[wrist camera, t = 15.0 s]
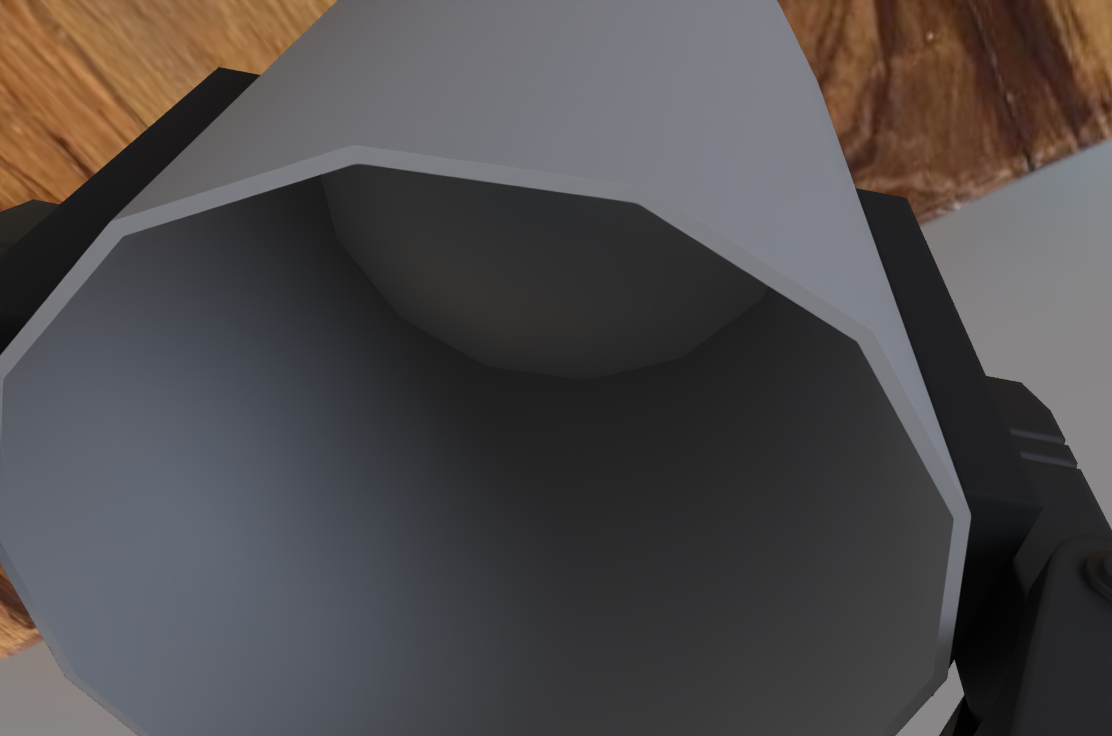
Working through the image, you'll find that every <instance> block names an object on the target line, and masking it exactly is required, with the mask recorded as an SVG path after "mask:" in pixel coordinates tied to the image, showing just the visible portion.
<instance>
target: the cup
mask: <svg viewBox="0 0 1112 736" xmlns="http://www.w3.org/2000/svg"><path fill="white" fill-rule="evenodd" d="M970 521H971V513H970V511H969V508H968V505H967V502H966V499H965V497H964V494H963V491H962V488H961V485H960V482H959V480H958V477H957V474H956V471H955V468H954V466H953V463H952V460H951V457H950V454H949V451H948V449H947V446H946V443H945V440H944V437H943V434H942V432H941V429H940V426H939V423H938V420H937V418H936V415H935V412H934V409H933V406H932V403H931V401H930V398H929V395H928V392H927V389H926V387H925V384H924V381H923V378H922V375H921V372H920V370H919V367H918V364H917V361H916V358H915V356H914V353H913V350H912V347H911V344H910V341H909V339H908V336H907V333H906V330H905V327H904V324H903V322H902V319H901V316H900V313H899V310H898V308H897V305H896V302H895V299H894V296H893V293H892V291H891V288H890V285H889V282H888V279H887V277H886V274H885V271H884V268H883V265H882V262H881V260H880V257H879V254H878V251H877V248H876V245H875V243H874V240H873V237H872V234H871V231H870V229H869V226H868V223H867V220H866V217H865V214H864V212H863V209H862V206H861V203H860V200H859V198H858V195H857V192H856V189H855V186H854V183H853V181H852V178H851V175H850V172H849V169H848V167H847V164H846V161H845V158H844V155H843V152H842V150H841V147H840V144H839V141H838V138H837V135H836V133H835V130H834V127H833V124H832V121H831V119H830V116H829V113H828V110H827V107H826V104H825V102H824V99H823V96H822V93H821V90H820V88H819V85H818V82H817V80H816V78H815V76H814V74H813V72H812V70H811V68H810V66H809V64H808V62H807V60H806V58H805V56H804V53H803V51H802V49H801V47H800V45H799V43H798V41H797V39H796V37H795V35H794V33H793V31H792V29H791V27H790V25H789V23H788V21H787V19H786V17H785V15H784V13H783V11H782V9H781V7H780V5H779V3H778V1H777V0H338V1H337V2H336V3H335V4H334V5H333V6H332V7H330V8H329V9H328V10H327V11H326V12H325V13H324V14H323V15H322V16H321V17H320V18H319V19H318V20H317V21H316V22H315V23H314V24H313V25H312V26H311V27H310V28H309V29H308V30H307V31H306V32H305V33H304V34H303V35H302V36H301V37H300V38H299V39H298V40H297V41H296V42H295V43H293V44H292V45H291V46H290V47H289V48H288V49H287V50H286V51H285V52H284V53H283V54H282V55H281V56H280V57H279V58H278V59H277V60H276V61H275V62H274V63H273V64H272V65H271V66H270V67H269V68H268V69H267V70H266V71H265V72H264V73H263V74H262V75H261V76H260V77H259V78H257V79H256V80H255V81H254V82H253V83H252V84H251V85H250V86H249V87H248V88H247V89H246V90H245V91H244V92H243V93H242V94H241V95H240V96H239V97H238V98H237V99H236V100H235V101H234V102H233V103H232V104H231V105H230V106H229V107H228V108H227V109H226V110H225V111H224V112H223V113H221V114H220V115H219V116H218V117H217V118H216V119H215V120H214V121H213V122H212V123H211V124H210V125H209V126H208V127H207V128H206V129H205V130H204V131H203V132H202V133H201V134H200V135H199V136H198V137H197V138H196V139H195V140H194V141H193V142H192V143H191V144H190V145H189V146H188V147H187V148H185V149H184V150H183V151H182V152H181V153H180V154H179V155H178V156H177V157H176V158H175V159H174V160H173V161H172V162H171V163H170V164H169V165H168V166H167V167H166V168H165V169H164V170H163V171H162V172H161V173H160V174H159V175H158V176H157V177H156V178H155V179H154V180H153V181H152V182H151V183H150V184H148V185H147V186H146V187H145V188H144V189H143V190H142V191H141V192H140V193H139V194H138V195H137V196H136V197H135V198H134V199H133V200H132V201H131V202H130V203H129V204H128V205H127V206H126V207H125V208H124V209H123V210H122V211H121V212H120V213H119V214H118V215H117V216H116V217H115V218H114V219H112V220H111V221H110V223H109V224H108V225H107V226H106V227H105V229H104V230H103V231H102V232H101V234H100V235H99V236H98V237H97V238H96V240H95V241H94V242H93V243H92V244H91V246H90V247H89V248H88V249H87V251H86V252H85V253H84V254H83V255H82V257H81V258H80V259H79V260H78V262H77V263H76V264H75V265H74V266H73V268H72V269H71V270H70V271H69V272H68V274H67V275H66V276H65V277H64V279H63V280H62V281H61V282H60V283H59V285H58V286H57V287H56V288H55V290H54V291H53V292H52V293H51V294H50V296H49V297H48V298H47V299H46V301H45V302H44V303H43V304H42V305H41V307H40V308H39V309H38V310H37V311H36V313H35V314H34V315H33V316H32V318H31V319H30V320H29V321H28V322H27V324H26V325H25V326H24V327H23V329H22V330H21V331H20V332H19V333H18V335H17V336H16V337H15V338H14V340H13V341H12V342H11V343H10V344H9V346H8V347H7V348H6V349H5V350H4V352H3V353H2V354H1V355H0V564H1V566H2V568H3V569H4V571H5V573H6V575H7V576H8V578H9V580H10V582H11V583H12V585H13V587H14V588H15V590H16V592H17V594H18V595H19V597H20V599H21V601H22V602H23V604H24V606H25V608H26V609H27V611H28V613H29V615H30V616H31V618H32V620H33V622H34V623H35V625H36V627H37V629H38V630H39V632H40V634H41V635H42V637H43V639H44V641H45V642H46V644H47V646H48V648H49V649H50V651H51V653H52V654H53V656H54V658H55V660H56V661H57V663H58V665H59V667H60V669H61V670H62V672H63V674H64V676H65V677H66V678H67V679H68V680H69V681H71V682H72V683H73V684H74V685H76V686H77V687H78V688H79V689H81V690H82V691H83V692H84V693H86V694H87V695H88V696H89V697H91V698H92V699H93V700H94V701H96V702H97V703H98V704H99V705H101V706H102V707H103V708H104V709H106V710H107V711H108V712H109V713H111V714H112V715H113V716H114V717H116V718H117V719H118V720H119V721H121V722H122V723H123V724H124V725H125V726H127V727H128V728H129V729H131V730H132V731H133V732H134V733H135V734H137V735H138V736H895V735H896V734H897V733H898V732H899V731H900V730H901V729H902V728H903V727H904V726H905V725H906V723H907V722H908V721H909V720H910V719H911V718H912V717H913V716H914V715H915V714H916V712H917V711H918V710H919V709H920V708H921V707H922V706H923V705H924V704H925V703H926V701H927V700H928V699H929V698H930V697H931V696H932V695H933V694H934V693H935V692H936V691H937V689H938V688H939V687H940V686H941V685H942V684H943V683H944V682H945V681H946V679H947V676H948V669H949V662H950V656H951V649H952V642H953V635H954V629H955V622H956V615H957V609H958V602H959V595H960V588H961V582H962V575H963V568H964V561H965V555H966V548H967V541H968V534H969V528H970Z"/></svg>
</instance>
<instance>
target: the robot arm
mask: <svg viewBox="0 0 1112 736" xmlns="http://www.w3.org/2000/svg"><path fill="white" fill-rule="evenodd" d="M260 76H261V75H257V74H252V73H247V72H241V71H236V70H231V69H226V68H220V67H218V68H217V69H216V70H215V71H214V72H213V73H212V74H210V75H209V76H208V77H207V78H206V79H205V80H203V81H202V82H201V83H200V84H199V85H198V86H196V87H195V88H194V89H193V90H192V91H191V92H190V93H188V94H187V95H186V96H185V97H184V98H183V99H181V100H180V101H179V102H178V103H177V104H176V105H175V106H173V107H172V108H171V109H170V110H169V111H168V112H166V113H165V114H164V115H163V116H162V117H161V118H159V119H158V120H157V121H156V122H155V123H154V124H153V125H151V126H150V127H149V128H148V129H147V130H146V131H144V132H143V133H142V134H141V135H140V136H139V137H138V138H136V139H135V140H134V141H133V142H132V143H131V144H129V145H128V146H127V147H126V148H125V149H124V150H122V151H121V152H120V153H119V154H118V155H117V156H116V157H114V158H113V159H112V160H111V161H110V162H109V163H107V164H106V165H105V166H104V167H103V168H102V169H100V170H99V171H98V172H97V173H96V174H95V175H94V176H92V177H91V178H90V179H89V180H88V181H87V182H85V183H84V184H83V185H82V186H81V187H80V188H79V189H77V190H76V191H75V192H74V193H73V194H72V195H70V196H69V197H68V198H67V199H66V200H65V201H63V202H62V203H61V204H55V203H49V202H44V201H39V200H31V201H28V202H26V203H23V204H21V205H18V206H15V207H13V208H10V209H7V210H5V211H2V212H0V355H1V354H2V353H3V352H4V350H5V349H6V348H7V347H8V346H9V344H10V343H11V342H12V341H13V340H14V338H15V337H16V336H17V335H18V333H19V332H20V331H21V330H22V329H23V327H24V326H25V325H26V324H27V322H28V321H29V320H30V319H31V318H32V316H33V315H34V314H35V313H36V311H37V310H38V309H39V308H40V307H41V305H42V304H43V303H44V302H45V301H46V299H47V298H48V297H49V296H50V294H51V293H52V292H53V291H54V290H55V288H56V287H57V286H58V285H59V283H60V282H61V281H62V280H63V279H64V277H65V276H66V275H67V274H68V272H69V271H70V270H71V269H72V268H73V266H74V265H75V264H76V263H77V262H78V260H79V259H80V258H81V257H82V255H83V254H84V253H85V252H86V251H87V249H88V248H89V247H90V246H91V244H92V243H93V242H94V241H95V240H96V238H97V237H98V236H99V235H100V234H101V232H102V231H103V230H104V229H105V227H106V226H107V225H108V224H109V223H110V221H111V220H112V219H114V218H115V217H116V216H117V215H118V214H119V213H120V212H121V211H122V210H123V209H124V208H125V207H126V206H127V205H128V204H129V203H130V202H131V201H132V200H133V199H134V198H135V197H136V196H137V195H138V194H139V193H140V192H141V191H142V190H143V189H144V188H145V187H146V186H147V185H148V184H150V183H151V182H152V181H153V180H154V179H155V178H156V177H157V176H158V175H159V174H160V173H161V172H162V171H163V170H164V169H165V168H166V167H167V166H168V165H169V164H170V163H171V162H172V161H173V160H174V159H175V158H176V157H177V156H178V155H179V154H180V153H181V152H182V151H183V150H184V149H185V148H187V147H188V146H189V145H190V144H191V143H192V142H193V141H194V140H195V139H196V138H197V137H198V136H199V135H200V134H201V133H202V132H203V131H204V130H205V129H206V128H207V127H208V126H209V125H210V124H211V123H212V122H213V121H214V120H215V119H216V118H217V117H218V116H219V115H220V114H221V113H223V112H224V111H225V110H226V109H227V108H228V107H229V106H230V105H231V104H232V103H233V102H234V101H235V100H236V99H237V98H238V97H239V96H240V95H241V94H242V93H243V92H244V91H245V90H246V89H247V88H248V87H249V86H250V85H251V84H252V83H253V82H254V81H255V80H256V79H257V78H259V77H260ZM855 189H856V188H855ZM856 192H857V195H858V198H859V200H860V203H861V206H862V209H863V212H864V214H865V217H866V220H867V223H868V226H869V229H870V231H871V234H872V237H873V240H874V243H875V245H876V248H877V251H878V254H879V257H880V260H881V262H882V265H883V268H884V271H885V274H886V277H887V279H888V282H889V285H890V288H891V291H892V293H893V296H894V299H895V302H896V305H897V308H898V310H899V313H900V316H901V319H902V322H903V324H904V327H905V330H906V333H907V336H908V339H909V341H910V344H911V347H912V350H913V353H914V356H915V358H916V361H917V364H918V367H919V370H920V372H921V375H922V378H923V381H924V384H925V387H926V389H927V392H928V395H929V398H930V401H931V403H932V406H933V409H934V412H935V415H936V418H937V420H938V423H939V426H940V429H941V432H942V434H943V437H944V440H945V443H946V446H947V449H948V451H949V454H950V457H951V460H952V463H953V466H954V468H955V471H956V474H957V477H958V480H959V482H960V485H961V488H962V491H963V494H964V497H965V499H966V502H967V505H968V508H969V511H970V513H971V521H970V528H969V534H968V541H967V548H966V555H965V561H964V568H963V575H962V582H961V588H960V595H959V602H958V609H957V615H956V622H955V629H954V635H953V642H952V649H951V656H950V662H949V668H950V666H951V664H952V663H953V661H954V659H955V663H956V666H957V670H958V673H959V677H960V680H961V684H962V687H963V691H964V694H965V695H964V697H963V698H962V700H961V701H960V703H959V704H958V706H957V708H956V709H955V711H954V712H953V715H952V716H951V717H950V719H949V721H948V722H947V724H946V725H945V727H944V729H943V730H942V732H941V734H940V735H939V736H1112V530H1111V528H1110V526H1109V524H1108V522H1107V520H1106V519H1105V516H1104V514H1103V512H1102V510H1101V508H1100V506H1099V504H1098V502H1097V500H1096V499H1095V497H1094V495H1093V493H1092V491H1091V489H1090V487H1089V485H1088V483H1087V481H1086V479H1085V477H1084V475H1083V473H1082V471H1081V470H1080V469H1077V461H1076V459H1075V458H1074V456H1073V454H1072V452H1071V450H1070V448H1069V446H1068V445H1064V443H1065V438H1064V436H1063V434H1062V432H1061V430H1060V428H1059V426H1058V425H1057V422H1056V420H1055V419H1054V417H1053V415H1052V413H1051V411H1050V410H1049V409H1048V408H1047V407H1046V406H1045V405H1044V404H1043V403H1042V402H1041V401H1040V400H1039V399H1038V398H1037V397H1036V396H1034V395H1033V393H1031V392H1030V391H1029V390H1028V389H1027V388H1026V387H1025V386H1024V385H1023V384H1022V383H1021V382H1016V381H1010V380H1004V379H999V378H994V377H989V376H986V375H985V373H984V371H983V368H982V366H981V364H980V361H979V359H978V357H977V355H976V353H975V350H974V348H973V346H972V343H971V341H970V339H969V337H968V335H967V332H966V330H965V328H964V326H963V323H962V321H961V319H960V317H959V314H958V312H957V310H956V308H955V306H954V303H953V301H952V299H951V296H950V294H949V292H948V290H947V287H946V285H945V283H944V281H943V278H942V276H941V274H940V272H939V269H938V267H937V265H936V263H935V260H934V258H933V256H932V254H931V251H930V249H929V247H928V245H927V242H926V240H925V238H924V236H923V233H922V231H921V229H920V227H919V224H918V222H917V220H916V218H915V215H914V213H913V211H912V209H911V207H910V204H909V202H908V200H907V198H903V197H898V196H893V195H887V194H882V193H877V192H872V191H866V190H861V189H856ZM933 695H934V694H933ZM933 695H932V696H933Z"/></svg>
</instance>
